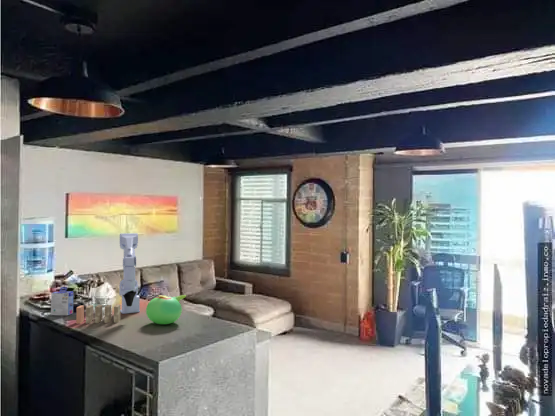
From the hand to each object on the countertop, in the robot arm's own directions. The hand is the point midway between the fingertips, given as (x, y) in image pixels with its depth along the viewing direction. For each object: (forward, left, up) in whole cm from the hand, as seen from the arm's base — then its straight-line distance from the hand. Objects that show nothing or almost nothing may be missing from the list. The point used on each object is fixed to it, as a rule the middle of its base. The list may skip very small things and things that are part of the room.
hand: (129, 306), depth 214 cm
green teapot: (-15, +13, -8) cm, 22 cm away
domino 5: (+6, -2, -8) cm, 10 cm away
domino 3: (+14, -5, -8) cm, 17 cm away
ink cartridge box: (+31, -30, -8) cm, 44 cm away
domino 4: (+10, -4, -8) cm, 13 cm away
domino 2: (+18, -7, -8) cm, 21 cm away
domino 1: (+23, -8, -8) cm, 25 cm away
